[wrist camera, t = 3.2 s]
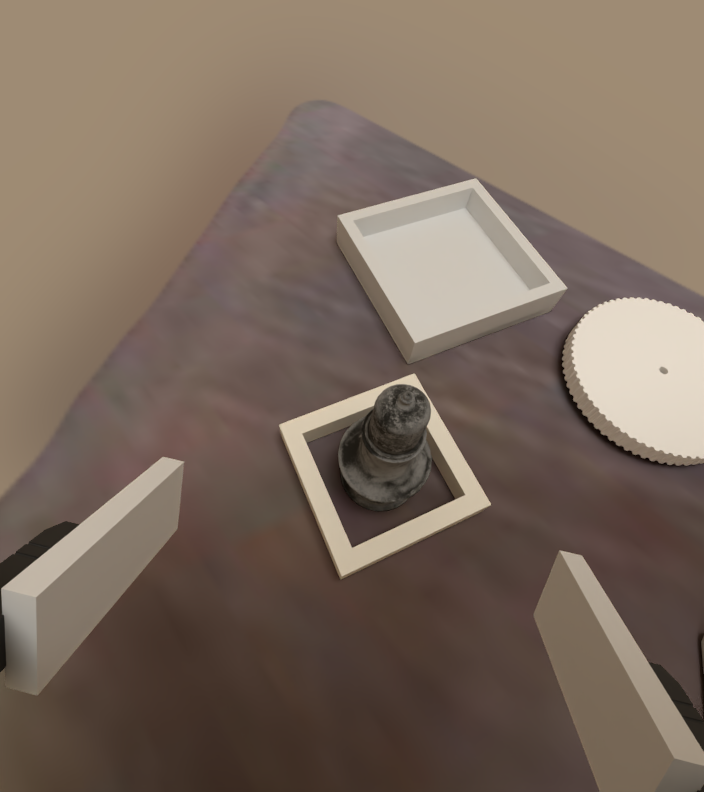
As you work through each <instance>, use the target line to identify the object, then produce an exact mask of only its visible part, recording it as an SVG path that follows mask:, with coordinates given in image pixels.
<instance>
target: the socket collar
mask: <svg viewBox="0 0 704 792" xmlns="http://www.w3.org/2000/svg"><path fill="white" fill-rule="evenodd" d="M396 384H406V385H411V386H414V387H416V388H418V389H419V390H421V391H422V392H423V393H424V394H425V395H426V397H427V398H428V400H429V402H430V407H431V416H430V420H429V423H428V425H427V427H426V431H427V438H426V440H427V442H428V444H429V446H430V451H431V456H432V458H433V460H434V462H435V464H436V465H437V467H438V469H439V471H440V473H441V475H442V476H443V478H444V480H445V482H446V484H447V485H448V487H449V489H450V491H451V493H452V494H453V496H454V498H455V500H454V501H451V502H449V503H447V504H445V505H443V506H441V507H439V508H436V509H434V510H432V511H430V512H428V513H426V514H424V515H421V516H419V517H417V518H415V519H413V520H411V521H409V522H407V523H404V524H402V525H400V526H398V527H396V528H394V529H392V530H389V531H387V532H385V533H383V534H381V535H379V536H377V537H374V538H372V539H370V540H368V541H366V542H364V543H362V544H359V545H357V546H355V547H353V548H352V547H351V545H350V542H349V540H348V538H347V535H346V533H345V531H344V528H343V526H342V524H341V522H340V519H339V517H338V515H337V512H336V510H335V508H334V505H333V503H332V501H331V499H330V496H329V494H328V492H327V489H326V487H325V485H324V482H323V480H322V478H321V476H320V473H319V471H318V469H317V466H316V464H315V462H314V459H313V457H312V455H311V453H310V450H309V448H308V446H307V443H308V442H311V441H313V440H316V439H318V438H321V437H323V436H326V435H328V434H331V433H333V432H336V431H338V430H341V429H344V428H346V427H349V426H351V425H352V424H353V423H354V422H356V421H358V420H359V419H361V418H362V417H365V416H366V415H367V414H368V413H369V412H370V411H371V410H372V409H373V408H374V404H375V401H376V399H377V397H378V396H379V395H380V394H381V393H382V392H383V390H385V389H386V388H388V387H390V386H393V385H396ZM279 428H280V433H281V437H282V439H283V442H284V444H285V447H286V449H287V451H288V454H289V456H290V459H291V461H292V463H293V466H294V468H295V471H296V473H297V476H298V478H299V480H300V483H301V485H302V488H303V490H304V493H305V495H306V497H307V500H308V502H309V505H310V507H311V510H312V512H313V514H314V517H315V519H316V522H317V524H318V527H319V529H320V531H321V534H322V536H323V539H324V541H325V544H326V546H327V548H328V551H329V553H330V556H331V558H332V561H333V563H334V565H335V568H336V570H337V573H338V575H339V578H340V580H341V579H343V578H345V577H347V576H349V575H351V574H353V573H355V572H358V571H360V570H362V569H364V568H366V567H368V566H370V565H372V564H374V563H376V562H378V561H380V560H382V559H384V558H386V557H389V556H391V555H393V554H395V553H397V552H399V551H401V550H403V549H405V548H407V547H409V546H411V545H413V544H415V543H418V542H420V541H422V540H424V539H426V538H428V537H430V536H432V535H434V534H436V533H438V532H440V531H442V530H444V529H446V528H449V527H451V526H453V525H455V524H457V523H459V522H461V521H463V520H465V519H467V518H469V517H471V516H473V515H475V514H478V513H480V512H482V511H483V510H484V509H486V508H487V507H488V506H490V505H491V503H490V502H489V500H488V498H487V496H486V495H485V493H484V491H483V490H482V488H481V486H480V485H479V483H478V481H477V479H476V478H475V476H474V474H473V473H472V471H471V469H470V467H469V466H468V464H467V462H466V461H465V459H464V457H463V456H462V454H461V452H460V450H459V449H458V447H457V445H456V444H455V442H454V440H453V438H452V437H451V435H450V433H449V432H448V430H447V428H446V427H445V425H444V423H443V421H442V420H441V418H440V416H439V415H438V413H437V411H436V409H435V408H434V406H433V404H432V403H431V401H430V399H429V397H428V396H427V394H426V392H425V391H424V389H423V387H422V386H421V384H420V382H419V380H418V379H417V377H416V375H415V374H412V375H409V376H407V377H404V378H401V379H399V380H396V381H393V382H391V383H388V384H385V385H383V386H380V387H377V388H375V389H372V390H370V391H367V392H364V393H362V394H359V395H356V396H354V397H351V398H348V399H346V400H343V401H340V402H338V403H335V404H333V405H330V406H327V407H325V408H322V409H319V410H317V411H314V412H311V413H309V414H306V415H303V416H301V417H298V418H296V419H293V420H290V421H288V422H285V423H282V424H280V425H279Z"/></svg>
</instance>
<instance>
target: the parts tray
mask: <svg viewBox="0 0 704 792" xmlns="http://www.w3.org/2000/svg"><path fill="white" fill-rule="evenodd" d="M337 244H338V246H339V248H340V249H341V251H342V253H343V254H344V256H345V258H346V260H347V261H348V263H349V265H350V266H351V268H352V270H353V272H354V273H355V275H356V277H357V278H358V280H359V282H360V284H361V285H362V287H363V289H364V290H365V292H366V294H367V296H368V297H369V299H370V301H371V302H372V304H373V306H374V308H375V309H376V311H377V313H378V314H379V316H380V318H381V319H382V321H383V323H384V325H385V326H386V328H387V330H388V331H389V333H390V335H391V337H392V338H393V340H394V342H395V343H396V345H397V347H398V349H399V350H400V352H401V354H402V355H403V357H404V359H405V361H406V362H407V364H411V363H413V362H416V361H419V360H421V359H424V358H427V357H430V356H432V355H435V354H438V353H440V352H443V351H446V350H448V349H451V348H454V347H456V346H459V345H462V344H465V343H467V342H470V341H473V340H475V339H478V338H481V337H483V336H486V335H489V334H491V333H494V332H497V331H500V330H502V329H505V328H508V327H510V326H513V325H516V324H518V323H521V322H524V321H526V320H529V319H532V318H535V317H537V316H540V315H543V314H545V313H548V312H551V310H552V309H553V307H554V306H555V305H556V303H557V302H558V301H559V299H560V298H561V296H562V295H563V294H564V292H565V291H566V290H567V287H566V286H565V285H564V283H563V282H562V281H561V280H560V279H559V277H558V276H557V275H556V274H555V273H554V271H553V270H552V269H551V268H550V267H549V265H548V264H547V263H546V262H545V261H544V259H543V258H542V257H541V256H540V255H539V253H538V252H537V251H536V250H535V249H534V247H533V246H532V245H531V244H530V243H529V241H528V240H527V239H526V238H525V237H524V235H523V234H522V233H521V232H520V230H519V229H518V228H517V227H516V226H515V224H514V223H513V222H512V221H511V220H510V218H509V217H508V216H507V215H506V214H505V212H504V211H503V210H502V209H501V208H500V206H499V205H498V204H497V203H496V202H495V200H494V199H493V198H492V197H491V196H490V194H489V193H488V192H487V191H486V190H485V188H484V187H483V186H482V185H481V184H480V182H479V181H478V180H477V179H472V180H468V181H464V182H461V183H457V184H453V185H450V186H446V187H442V188H438V189H435V190H431V191H427V192H424V193H420V194H416V195H412V196H409V197H405V198H401V199H397V200H394V201H390V202H386V203H383V204H379V205H375V206H371V207H368V208H364V209H360V210H357V211H353V212H349V213H345V214H342V215H338V218H337Z"/></svg>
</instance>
